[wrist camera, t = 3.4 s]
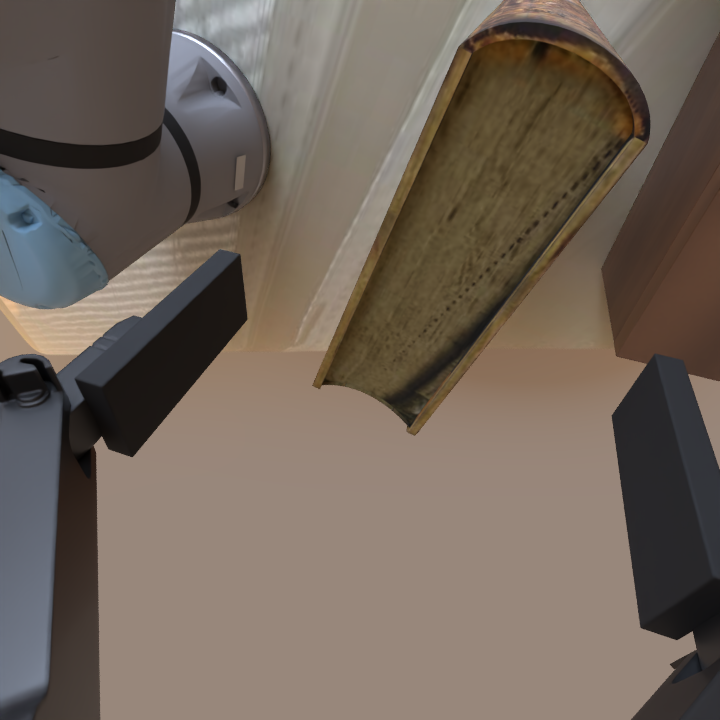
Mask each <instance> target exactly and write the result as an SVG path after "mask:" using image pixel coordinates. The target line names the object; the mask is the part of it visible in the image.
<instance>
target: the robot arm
mask: <svg viewBox="0 0 720 720" xmlns="http://www.w3.org/2000/svg"><path fill="white" fill-rule="evenodd" d="M175 2H176V0H0V296H2V297H5V298H7V299H9V300H11V301H14V302H16V303H19V304H22V305H25V306H28V307H32V308H38V309H56V308H65V307H68V306H70V305H73V304H74V303H76V302H78V301H80V300H81V299H83V298H85V297H87V296H89V295H90V294H92V293H94V292H96V291H98V290H101V289H103V288H104V287H105V286H106V285H108V284H107V283H108V282H109V280H111V279H112V278H113V277H115V276H116V275H117V274H119V273H120V272H121V271H123V270H124V269H125V268H127V267H128V266H129V265H131V264H132V263H133V262H135V261H136V260H137V259H139V258H140V257H141V256H143V255H144V254H145V253H147V252H148V251H149V250H151V249H152V248H153V247H155V246H156V245H157V244H159V243H160V242H161V241H163V240H164V239H165V238H167V237H168V236H169V235H171V234H172V233H173V232H175V231H176V230H177V229H179V228H180V227H181V226H183V225H184V224H186V223H192V222H198V221H205V220H211V219H217V218H221V217H224V216H227V215H230V214H232V213H234V212H236V211H238V210H239V209H241V208H242V207H244V206H245V205H246V204H247V203H248V202H250V201H251V200H252V199H253V198H254V197H255V196H256V195H257V193H258V192H259V191H260V189H261V187H262V186H263V184H264V181H265V179H266V176H267V173H268V168H269V163H270V139H269V132H268V127H267V123H266V119H265V116H264V113H263V110H262V107H261V105H260V103H259V100H258V98H257V96H256V94H255V92H254V90H253V89H252V87H251V85H250V84H249V82H248V80H247V79H246V78H245V76H244V75H243V73H242V72H241V71H240V70H239V68H238V67H237V66H236V65H235V64H234V62H233V61H232V60H231V59H230V58H229V57H228V56H227V55H225V54H224V53H223V52H222V51H221V50H220V49H218V48H217V47H216V46H214V45H213V44H212V43H210V42H208V41H207V40H205V39H203V38H201V37H199V36H197V35H195V34H192V33H189V32H186V31H182V30H177V29H173V20H174V11H175ZM246 321H247V309H246V300H245V291H244V282H243V273H242V264H241V255H240V254H238V253H233V252H229V251H225V250H221V249H220V250H218V251H217V252H216V253H215V254H214V255H213V256H212V257H211V258H209V259H208V260H207V261H206V262H205V263H204V264H203V265H202V266H200V267H199V268H198V269H197V270H196V271H195V272H194V273H192V274H191V275H190V276H189V277H188V278H187V279H186V280H185V281H183V282H182V283H181V284H180V285H179V286H178V287H177V288H176V289H174V290H173V291H172V292H171V293H170V294H169V295H168V296H167V297H165V298H164V299H163V300H162V301H161V302H160V303H159V304H158V305H156V306H155V307H154V308H153V309H152V310H151V311H150V312H149V313H147V314H146V315H145V316H144V317H143V318H141V317H137V316H132V317H130V318H127V319H125V320H123V321H121V322H119V323H117V324H115V325H114V326H113V327H112V328H111V329H109V330H108V331H107V332H106V333H105V334H103V337H100V338H99V339H98V340H96V341H95V342H94V343H93V345H92V346H89V347H88V348H87V349H86V350H85V351H83V352H82V353H81V354H80V355H79V356H77V358H75V359H74V360H73V361H72V362H70V363H69V364H68V365H67V366H66V367H64V368H63V369H62V370H61V371H60V372H59V373H57V374H56V373H55V371H54V369H53V367H52V365H51V363H50V361H49V360H47V359H46V358H45V357H44V356H41V355H36V354H26V355H19V356H15V357H12V358H9V359H7V360H5V361H3V362H1V363H0V720H100V680H99V613H98V546H97V482H96V481H97V480H96V451H95V448H94V446H93V445H94V444H95V443H96V442H97V441H98V440H99V439H100V437H101V436H102V437H103V439H104V441H105V443H106V445H107V447H108V449H110V450H112V451H115V452H119V453H121V454H124V455H127V456H130V457H133V456H134V455H135V454H136V453H137V451H138V450H139V449H140V448H141V446H142V445H143V444H144V443H145V442H146V441H147V439H148V438H149V437H150V436H151V435H152V433H153V432H154V431H155V430H156V429H157V427H158V426H159V425H160V424H161V423H162V421H163V420H164V419H165V418H166V417H167V415H168V414H169V413H170V412H171V411H172V409H173V408H174V407H175V406H176V404H177V403H178V402H179V401H180V400H181V399H182V397H183V396H184V395H185V394H186V393H187V391H188V390H189V389H190V388H191V387H192V385H193V384H194V383H195V382H196V380H197V379H198V378H199V377H200V376H201V375H202V373H203V372H204V371H205V370H206V369H207V367H208V366H209V365H210V364H211V363H212V361H213V360H214V359H215V358H216V356H217V355H218V354H219V353H220V352H221V351H222V349H223V348H224V347H225V346H226V345H227V343H228V342H229V341H230V340H231V339H232V337H233V336H234V335H235V334H236V333H237V331H238V330H239V329H240V328H241V327H242V325H243V324H244V323H245V322H246ZM612 421H613V429H614V436H615V443H616V451H617V458H618V465H619V473H620V480H621V487H622V495H623V502H624V510H625V517H626V524H627V532H628V539H629V546H630V554H631V560H632V569H633V576H634V583H635V590H636V598H637V605H638V613H639V619H640V627H641V628H642V629H646V630H648V631H651V632H654V633H657V634H660V635H663V636H666V637H669V638H672V639H675V640H678V639H680V638H682V637H683V636H685V635H687V634H688V633H690V632H692V631H693V634H694V639H695V643H696V648H697V650H695V651H693V652H691V653H690V654H688V655H686V656H684V657H682V658H680V659H678V660H676V661H675V662H673V663H671V664H670V665H671V666H672V667H673V668H674V669H675V670H674V671H673V673H672V674H671V675H670V676H669V677H668V678H667V679H666V681H665V682H664V683H663V684H662V685H661V686H660V687H659V688H658V690H657V691H656V692H655V693H654V694H653V695H652V696H651V698H650V699H649V700H648V701H647V702H646V703H645V704H644V705H643V707H642V708H641V709H640V710H639V711H638V712H637V713H636V715H635V716H634V717H633V718H632V719H631V720H720V469H719V466H718V464H717V460H716V458H715V454H714V451H713V448H712V446H711V442H710V439H709V436H708V433H707V430H706V427H705V424H704V421H703V418H702V415H701V412H700V409H699V406H698V403H697V400H696V397H695V394H694V391H693V388H692V385H691V382H690V379H689V376H688V373H687V370H686V367H685V364H684V361H683V360H680V359H676V358H672V357H668V356H664V355H659V354H654V355H653V357H652V358H651V360H650V361H649V362H648V364H647V366H646V367H645V368H644V370H643V371H642V373H641V374H640V376H639V377H638V378H637V380H636V381H635V383H634V384H633V386H632V387H631V389H630V390H629V392H628V393H627V395H626V396H625V397H624V399H623V400H622V402H621V403H620V404H619V406H618V407H617V409H616V410H615V412H614V413H613V415H612Z"/></svg>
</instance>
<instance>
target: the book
mask: <svg viewBox="0 0 720 720" xmlns="http://www.w3.org/2000/svg"><path fill="white" fill-rule="evenodd" d="M649 135H650V114H649V109H648V104H647V101H646V98H645V95H644V93H643V91H642V89H641V87H640V85H639V83H638V82H637V80H636V79H635V78H634V76H633V75H632V73H631V72H630V70H629V69H628V68H627V66H626V65H625V63H624V62H623V61H622V59H621V58H620V57H619V55H618V54H617V52H616V51H615V50H614V48H613V47H612V46H611V44H610V43H609V41H608V40H607V39H606V37H605V36H604V34H603V33H602V32H601V30H600V29H599V28H598V26H597V25H596V23H595V22H594V21H593V19H592V18H591V17H590V15H589V14H588V12H587V11H586V10H585V8H584V7H583V5H582V4H581V3H580V1H579V0H504V1H503V2H502V3H501V4H500V5H499V6H498V7H497V8H496V9H495V10H494V11H493V12H492V13H491V14H490V15H489V16H488V17H487V18H486V19H485V20H484V21H483V22H482V23H481V24H480V25H479V26H478V27H477V28H476V29H475V31H474V32H473V33H472V34H471V35H470V36H469V37H468V38H467V39H466V40H465V41H464V42H463V43H462V44H461V45H460V46H459V47H458V49H457V52H456V54H455V56H454V59H453V61H452V63H451V65H450V68H449V70H448V72H447V75H446V77H445V79H444V82H443V84H442V86H441V89H440V91H439V93H438V96H437V98H436V100H435V103H434V105H433V107H432V109H431V112H430V114H429V116H428V119H427V121H426V123H425V126H424V128H423V130H422V133H421V135H420V137H419V140H418V142H417V144H416V147H415V149H414V151H413V153H412V156H411V158H410V160H409V163H408V165H407V167H406V170H405V172H404V174H403V177H402V179H401V181H400V184H399V186H398V188H397V190H396V193H395V195H394V197H393V200H392V202H391V204H390V207H389V209H388V211H387V214H386V216H385V218H384V221H383V223H382V225H381V228H380V230H379V232H378V234H377V237H376V239H375V241H374V244H373V246H372V248H371V251H370V253H369V255H368V258H367V260H366V262H365V265H364V267H363V269H362V271H361V274H360V276H359V278H358V281H357V283H356V285H355V288H354V290H353V292H352V295H351V297H350V299H349V302H348V304H347V306H346V309H345V311H344V313H343V315H342V318H341V320H340V322H339V325H338V327H337V329H336V332H335V334H334V336H333V339H332V341H331V343H330V346H329V348H328V350H327V353H326V355H325V358H324V360H323V362H322V364H321V367H320V369H319V371H318V373H317V376H316V378H315V380H314V383H313V386H314V387H316V388H318V389H320V387H321V386H322V385H340V386H345V387H349V388H353V389H356V390H358V391H361V392H363V393H365V394H368V395H370V396H372V397H373V398H375V399H377V400H378V401H380V402H382V403H383V404H385V405H386V406H387V407H388V408H390V409H391V410H392V411H393V412H394V413H396V414H397V415H398V416H399V417H400V418H401V419H402V420H403V421H404V422H405V423H406V424H407V432H408V433H410V434H412V435H416V434H417V433H418V432H419V430H420V429H421V428H422V427H423V425H424V424H425V423H426V421H427V420H428V419H429V418H430V417H431V415H432V414H433V413H434V411H435V410H436V409H437V408H438V406H439V405H440V404H441V403H442V401H443V400H444V399H445V398H446V396H447V395H448V394H449V393H450V391H451V390H452V389H453V388H454V386H455V385H456V384H457V383H458V381H459V380H460V379H461V378H462V376H463V375H464V374H465V372H466V371H467V370H468V369H469V368H470V366H471V365H472V364H473V362H474V361H475V360H476V359H477V357H478V356H479V355H480V354H481V352H482V351H483V350H484V349H485V347H486V346H487V345H488V344H489V342H490V341H491V340H492V339H493V337H494V336H495V335H496V334H497V332H498V331H499V330H500V329H501V327H502V326H503V325H504V324H505V322H506V321H507V320H508V318H509V317H510V316H511V315H512V313H513V312H514V311H515V310H516V308H517V307H518V306H519V305H520V303H521V302H522V301H523V300H524V298H525V297H526V296H527V295H528V293H529V292H530V291H531V290H532V288H533V287H534V286H535V285H536V283H537V282H538V281H539V280H540V278H541V277H542V276H543V275H544V273H545V272H546V271H547V269H548V268H549V267H550V266H551V264H552V263H553V262H554V261H555V259H556V258H557V257H558V256H559V254H560V253H561V252H562V251H563V249H564V248H565V247H566V246H567V244H568V243H569V242H570V241H571V239H572V238H573V237H574V236H575V234H576V233H577V232H578V231H579V229H580V228H581V227H582V225H583V224H584V223H585V222H586V220H587V219H588V218H589V217H590V215H591V214H592V213H593V212H594V210H595V209H596V208H597V207H598V205H599V204H600V203H601V202H602V200H603V199H604V198H605V197H606V195H607V194H608V193H609V192H610V190H611V189H612V188H613V187H614V185H615V184H616V183H617V182H618V180H619V179H620V178H621V176H622V175H623V174H624V173H625V171H626V170H627V169H628V168H629V166H630V165H631V164H632V163H633V161H634V160H635V159H636V158H637V156H638V155H639V154H640V153H641V151H642V150H643V149H644V148H645V146H646V145H647V144H648V140H649Z"/></svg>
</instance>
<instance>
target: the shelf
mask: <svg viewBox="0 0 720 720" xmlns="http://www.w3.org/2000/svg"><path fill="white" fill-rule="evenodd" d="M601 270H602V275H603V281H604V287H605V293H606V299H607V305H608V311H609V316H610V322H611V328H612V334H613V340H614V347H615V352H616V356H617V357H621V358H625V359H629V360H634V361H638V362H642V363H646V364H648V362H649V361H650V360H651V358H652V357H653V355H654V354H659V355H664V356H668V357H672V358H676V359H680V360H683V361H684V364H685V367H686V370H687V373H688V374H691V375H696V376H700V377H704V378H708V379H712V380H716V381H720V32H719V34H718V36H717V38H716V40H715V42H714V44H713V46H712V48H711V50H710V52H709V54H708V56H707V58H706V60H705V62H704V64H703V66H702V68H701V70H700V72H699V74H698V76H697V78H696V80H695V82H694V84H693V86H692V88H691V90H690V92H689V94H688V96H687V98H686V100H685V102H684V104H683V106H682V108H681V110H680V112H679V114H678V116H677V118H676V120H675V122H674V124H673V126H672V128H671V130H670V132H669V134H668V136H667V138H666V140H665V142H664V144H663V146H662V148H661V150H660V152H659V154H658V156H657V158H656V160H655V162H654V164H653V166H652V168H651V170H650V172H649V174H648V176H647V178H646V180H645V182H644V184H643V186H642V188H641V190H640V192H639V194H638V196H637V198H636V200H635V202H634V204H633V206H632V208H631V210H630V212H629V214H628V216H627V218H626V220H625V222H624V224H623V226H622V228H621V230H620V232H619V234H618V236H617V238H616V240H615V242H614V244H613V246H612V248H611V250H610V252H609V254H608V256H607V258H606V260H605V262H604V264H603V266H602V268H601Z"/></svg>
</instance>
